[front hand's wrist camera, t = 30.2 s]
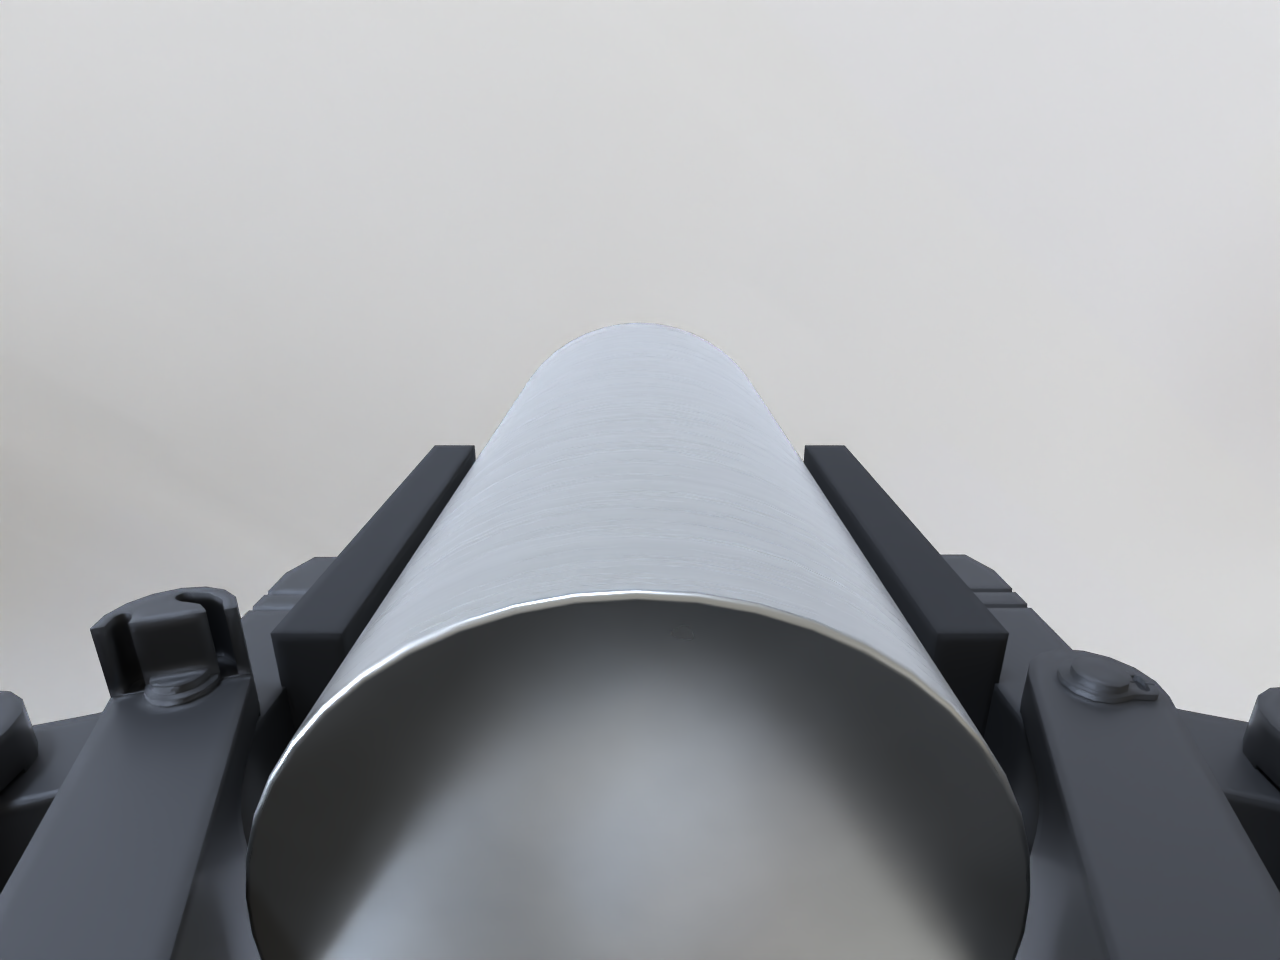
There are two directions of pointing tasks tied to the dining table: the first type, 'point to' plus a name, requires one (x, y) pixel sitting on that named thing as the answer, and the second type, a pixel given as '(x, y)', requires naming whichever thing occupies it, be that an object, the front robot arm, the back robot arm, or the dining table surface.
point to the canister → (638, 713)
